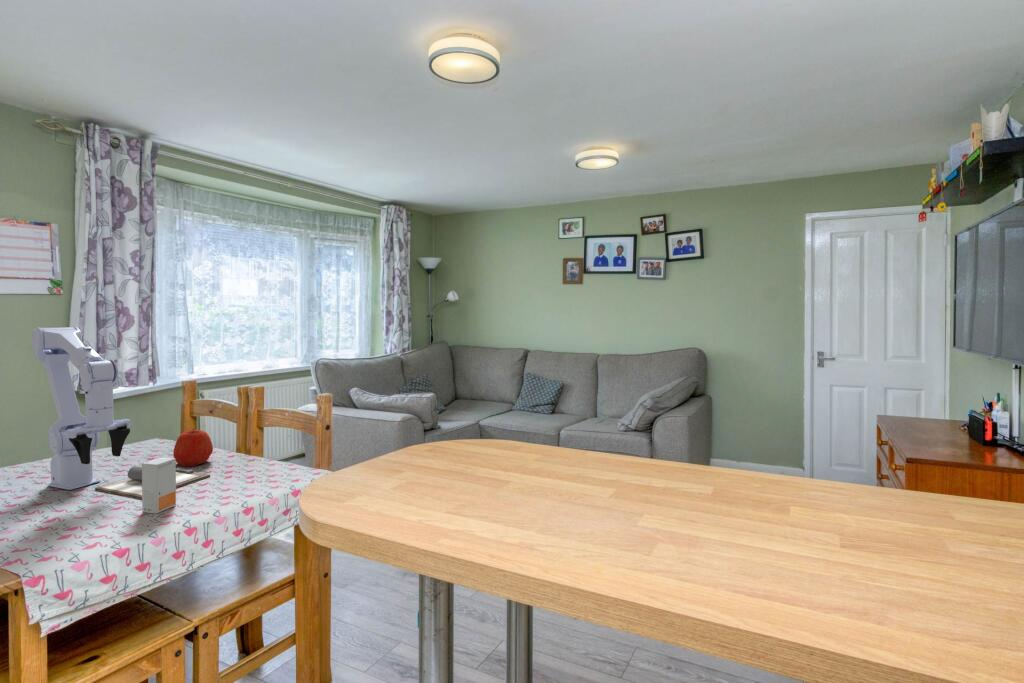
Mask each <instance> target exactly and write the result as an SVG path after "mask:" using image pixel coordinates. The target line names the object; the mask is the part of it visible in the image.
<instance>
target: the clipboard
mask: <svg viewBox="0 0 1024 683" xmlns="http://www.w3.org/2000/svg"><path fill="white" fill-rule="evenodd" d="M210 477H211V474H207V473H202V472H196V471H194V469H188V468H183V467H176V489H177V488H181V487H183V486H186V485H190V484H192V482H193V483H195V481H196V482H199V481H201V479H202V480H205V479H208V478H210ZM204 478H205V479H204ZM198 480H199V481H198ZM189 483H190V484H189ZM94 490H95V491H98V490H99V492H103V491H104V492H103V493H108V492H110V493H109V494H113V493H114V494H115V495H118V494H119V496H124V497H129V498H134V499H141V500H142V481H138V480H132V479H130V478H129V477H127V478H123V479H120V480H117V481H114V482H110V483H109V482H108V483H106V484H103V485H99V486H97V487H94Z"/></svg>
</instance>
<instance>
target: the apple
mask: <svg viewBox="0 0 1024 683" xmlns="http://www.w3.org/2000/svg"><path fill="white" fill-rule="evenodd" d="M213 452H214V446H213V443H212V439H211V437H210V435H209V434H208V433H207V431H204V430H199V429H191V430H186V431H183V432H182V433H180V434H179V436H178V437H177V440H176V442H175V444H174V447H173V452H172V453H173V458H175V459H176V465H179V466H181V467H182V466H183V467H194V466H198V465H200V464H203V463H206V462H207V461H208V460H209V458H210V456H211V455H212V454H213Z"/></svg>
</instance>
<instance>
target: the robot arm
mask: <svg viewBox="0 0 1024 683" xmlns="http://www.w3.org/2000/svg"><path fill="white" fill-rule="evenodd" d="M30 342H31V347H32V351H33V353H34V356H35V359H36V360H35V361H37V362H41V363H43V365H44V368H45V371H46V375H47V379H48V382H49V386H50V387H49V388H50V390H51V395H52V398H53V401H54V406H55V410H56V413H57V420H56V421H55V422H54V423H53V424H51V425H50V427H49V429H48V431H47V433H48V446H49V450H50V451H51V452H52V453H53V454H54V455H53V456H52V458H51V460H50V463H49V464H50V483H47V486H48V487H52V488H58V489H63V490H67V491H70V490H71V491H72V490H77V489H80V488H82V487H86V486H90V485H93V484H96V483H99V482H102V481H101V479H99V478H95V477H93V476H94V473H93V451H95V448H96V447H98V445H99V444H100V439H101V437H100V436H101V435H100V434H101V433H102V432H107V431H108V434H109V438H110V443H111V444H110V445H111V455H112V456H113V457H121V454H122V450H123V447H124V445H125V442H126V440H127V438H128V436H129V435H130V433H131V428H130V427H132V419H129V418H122V419H114V418H115V416H114V415H115V414H114V411H115V410H114V385H113V382H116V380H117V377H118V368H117V364H116V363H115V361H114V360H113V359H104V358H103V357H102V356H101V355H100V354H99V353H98V352H97V351H96V350H95V349H94V348H92V347H91V346H85V344H84V342H83V333H82V331H81V329H79V327H77V326H70V327H69V326H68V327H41V326H40V327H39V326H38V327H35V328H34V329H33V330H32V332H31V340H30ZM69 362H70V363H71V364H72V365H73V366H74V367H75V368H76V369H77V370H78V371H79V377H80V381H81V384H82V385H81V386H82V390H83V391H84V397H85V398H84V400H85V401H84V402H85V403H84V404H85V415H83V414H82V413H81V410H80V405H79V402H78V397H77V395H76V391H75V386H74V382H73V379H72V376H71V372H70V368H69V364H68V363H69Z"/></svg>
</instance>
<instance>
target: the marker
mask: <svg viewBox="0 0 1024 683" xmlns="http://www.w3.org/2000/svg"><path fill="white" fill-rule="evenodd" d="M127 478H130V479H132V480H138V481H142V466H137V465H136V466H135V465H134V466H132V467H131V468H129V469H128V471H127Z"/></svg>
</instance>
